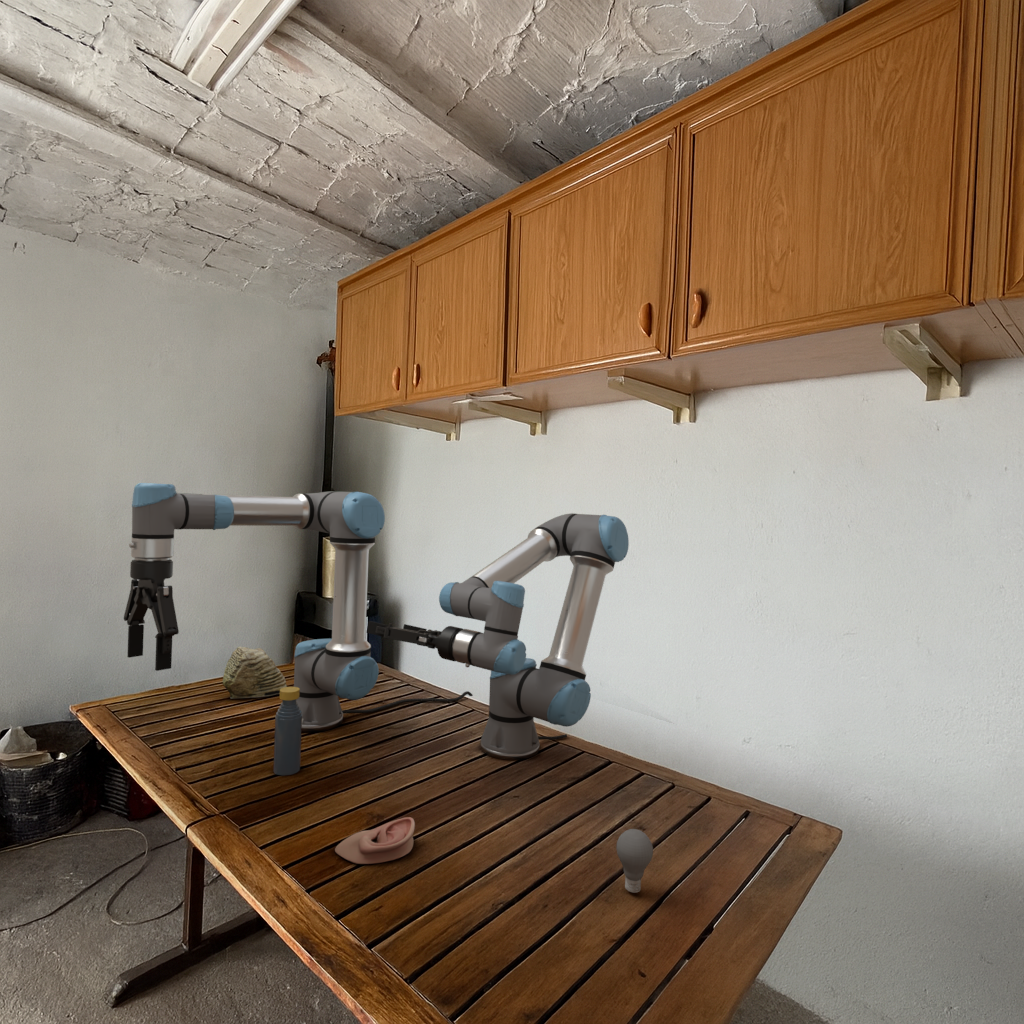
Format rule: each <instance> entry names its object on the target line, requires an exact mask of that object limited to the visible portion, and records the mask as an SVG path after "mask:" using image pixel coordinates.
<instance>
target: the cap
mask: <svg viewBox="0 0 1024 1024" xmlns="http://www.w3.org/2000/svg"><path fill="white" fill-rule="evenodd" d="M299 695H300V688H298V687H294V686H287V687H284V688H281V689H280V694H279V699H280V700H281V701H282V700H295V699H298V698H299Z"/></svg>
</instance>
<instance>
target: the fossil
mask: <svg viewBox="0 0 1024 1024" xmlns="http://www.w3.org/2000/svg"><path fill="white" fill-rule="evenodd" d="M222 676H223V677H222V685H223V687H224V688H225V690H226V691H228V693H229V698H230V699H250V698H264V697H271V696H275V695H280V689H281V688H284V687H288V686H287V680H286V678H285V676H284V674H283V673H282V672H281V669H279V668H278V667H277V665H276V663H275V662H274V660H273V659H272V658H271V657H270V656H269V655H268V654H267V653H266V652H265V650H264V649H263V648H260V647H258V648H251V647H247V646H246V647H245V646H238V647H237V648H236V649H235V650H233V651H232V653H231V656H230V657H229V659H228V660H227V663H226V666H225V668H224V671H223V675H222Z"/></svg>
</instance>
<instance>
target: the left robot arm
mask: <svg viewBox="0 0 1024 1024" xmlns="http://www.w3.org/2000/svg"><path fill="white" fill-rule="evenodd" d="M385 515H386V513H385V511H384V508H383V505H382V503H381V502H380V501H379V500H378V498H377V497H375V495H373V494H370V493H367V492H363V491H362V492H361V491H337V490H336V491H335V490H333V491H332V490H330V491H321V492H311V493H295V494H294V495H293V496H276V495H275V496H274V495H273V496H272V495H248V494H247V495H246V494H244V495H243V494H220V493H219V494H218V493H217V494H216V493H215V494H214V493H189V492H187V493H186V492H177V491H176V486H175V485H174V484H173V483H152V482H139V483H137V484H136V485H135V486H134V488H133V492H132V501H131V520H132V521H131V542H130V543H128V547H129V548H130V549H131V550H130V556H131V558H133V559H132V560H131V561H130V567H129V568H130V571H129V574H130V575H129V576H130V578H131V581H130V590H129V594H128V598H127V603H126V607H125V610H124V615H123V621H124V622H126V624H127V626H128V629H127V630H128V631H127V658H135V657H142V656H144V635H145V634H144V630H145V625H144V624H145V623H146V621H145V619H144V618H145V616H146V615H147V612H148V609H149V610H151V613H152V618H153V620H154V624H155V627H156V631H157V633H156V635H155V636H154V638H155V661H154V663H155V665H154V668H155V669H154V670H155V671H157V672H159V671H164V670H169V669H172V659H173V657H172V655H173V637H175V636H176V635H179V632H180V631H179V625H178V619H177V615H176V614H177V613H176V609H175V603H174V597H173V595H174V593H173V585H165V580H167V579H171V578H172V577H173V575H174V573H173V572H174V561H173V560H172V559H171V558H173V557H174V554H175V553H174V552H175V530H213V531H215V530H224V529H228V528H230V526H233V527H234V526H237V527H238V526H240V527H243V526H246V527H247V526H249V527H250V526H258V527H259V526H268V527H269V526H276V527H277V526H282V527H284V526H285V527H286V526H287V527H288V526H289V527H290V526H291V527H293V528H294V529H296V530H308V531H309V530H310V531H316V532H319V533H325V534H329V544H330V545H331V546H332V547H333V548H334V550H335V551H334V572H333V573H334V577H333V599H332V625H331V626H332V627H331V638H317V639H308V640H304V641H300V642H299V643H297V645H296V646H295V650H294V655H293V657H294V672H293V673H294V674H293V687H298V688H300V695H299V698H298V699H296V702H298V705H299V708H300V710H301V711H302V733H316V732H325V731H329V730H332V729H335V728H337V727H339V726H340V725H342V723H343V722H344V715H345V714H346V715H347V714H369V713H375V712H378V711H381V710H384V709H388V708H392V707H394V706H397V705H401V704H405V703H416V702H417V703H421V702H423V703H425V702H426V703H427V702H432V703H433V702H435V703H436V702H437V703H453V702H458V701H460V700H462V699H463V698H464V697H465V696H469V697H473V696H474V695H473V693H471V691H467V690H466V691H463V693H461V694H460V695H459V696H457V697H454V698H435V697H434V698H433V697H431V698H427V697H426V698H425V697H423V698H417V697H416V698H406V699H400V700H396V701H393V702H390V703H387V704H384V705H381V706H377V707H374V708H369V709H342V706H341V702H340V699H339V698H341V699H342V700H343V699H344V700H348V701H349V700H350V701H357V700H360V699H362V698H364V697H365V696H367V695H368V694H370V692H371V690H372V689H374V687H375V685H376V683H377V682H378V678H379V674H380V672H379V671H380V670H379V669H380V668H379V665H378V663H377V662H376V660H375V659H374V657H371V652H372V649H371V648H372V644H371V643H370V642H368V640H367V639H366V632H367V607H368V606H367V605H368V604H367V602H368V582H369V581H368V579H369V555H370V553H369V552H370V550H371V548H372V547H374V545H375V544H376V536H378V535H379V534H380V533H381V530H383V528H384V526H385V522H386V521H385V520H386V516H385Z"/></svg>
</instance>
